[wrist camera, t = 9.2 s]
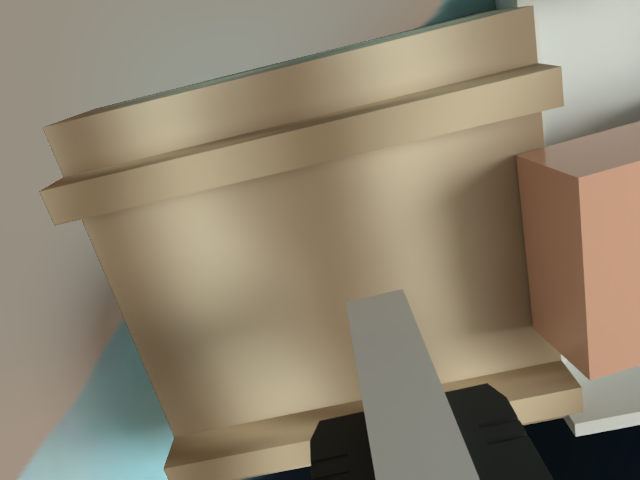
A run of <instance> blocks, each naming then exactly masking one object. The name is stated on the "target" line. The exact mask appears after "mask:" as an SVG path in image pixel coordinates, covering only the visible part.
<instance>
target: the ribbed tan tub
mask: <svg viewBox="0 0 640 480" xmlns="http://www.w3.org/2000/svg"><path fill="white" fill-rule="evenodd" d="M562 106H564V98H563V82H562V67H561V66H555V65H548V64H541V63H538V59H537V46H536V33H535V21H534V8H533V6H524V7H516V8H507V9H498V10H490V11H485V12H481V13H477V14H473V15H469V16H465V17H461V18H457V19H453V20H449V21H445V22H441V23H437V24H433V25H429V26H425V27H421V28H417V29H413V30H409V31H405V32H401V33H397V34H393V35H389V36H385V37H380V38H376V39H373V40H368V41H364V42H360V43H357V44H352V45H349V46H344V47H341V48H337V49H332V50H329V51H325V52H321V53H316V54H313V55H308V56H304V57H301V58H297V59H292V60H288V61H284V62H280V63H276V64H272V65H268V66H265V67H260V68H257V69H252V70H249V71H245V72H240V73H237V74H232V75H228V76H224V77H220V78H216V79H213V80H208V81H205V82H201V83H196V84H192V85H188V86H184V87H181V88H177V89H172V90H168V91H165V92H160V93H156V94H153V95H148V96H144V97H141V98H136V99H132V100H128V101H124V102H120V103H116V104H112V105H108V106H105V107H100V108H96V109H94V110H91V111H88V112H85V113H82V114H79V115H77V116H74V117H71V118H68V119H65V120H63V121H60V122H57V123H54V124H52V125H49V126H46V127H43V130H44V132H45V135H46V136H47V139H48V141H49V144H50V146H51V149H52V151H53V153H54V156H55V158H56V160H57V163H58V165H59V167H60V170H61V172H62V174H63V178H62V179H60V180H59V181H57V182H55V183H53V184H51V185H50V186H48V187H46V188H45V189H43V190H41V191H40V194H41V196H42V198H43V201H44V203H45V205H46V208H47V210H48V212H49V214H50V216H51V219H52V221H53V223H54V225H58V224H63V223H67V222H71V221H75V220H80V219H82V221H83V224H84V226H85V228H86V231H87V233H88V236H89V238H90V240H91V243H92V245H93V247H94V249H95V252H96V254H97V257H98V259H99V261H100V264H101V266H102V268H103V271H104V273H105V275H106V278H107V280H108V282H109V285H110V287H111V289H112V292H113V294H114V296H115V298H116V301H117V304H118V306H119V308H120V311H121V313H122V315H123V318H124V320H125V322H126V325H127V327H128V330H129V332H130V334H131V337H132V339H133V341H134V344H135V346H136V348H137V351H138V353H139V355H140V358H141V360H142V362H143V365H144V367H145V369H146V372H147V374H148V376H149V379H150V381H151V384H152V386H153V388H154V391H155V393H156V395H157V398H158V400H159V402H160V405H161V407H162V409H163V412H164V414H165V416H166V419H167V421H168V423H169V426H170V428H171V431H172V433H173V435H174V440H173V443H172V446H171V449H170V452H169V455H168V457H167V460H166V463H165V466H164V471H165V473H166V476H167V478H168V480H239V479H245V478H250V477H255V476H260V475H265V474H271V473H276V472H281V471H286V470H292V469H297V468H302V467H307V466H311V461H310V440H311V438H312V435H313V433H314V431H315V429H316V427H317V425H318V423H319V421H321V420H325V419H330V418H335V417H339V416H344V415H349V414H353V413H358V412H363V411H364V408H363V402H362V396H361V391H360V385H359V379H358V373H357V367H356V361H355V355H354V349H353V343H352V338H351V332H350V326H349V320H348V314H347V308H346V302H348V301H352V300H356V299H361V298H365V297H370V296H374V295H379V294H383V293H387V292H392V291H396V290H401V289H403V291H404V293H405V296H406V298H407V301H408V303H409V306H410V308H411V311H412V313H413V316H414V318H415V321H416V323H417V326H418V328H419V330H420V333H421V335H422V338H423V340H424V343H425V345H426V348H427V350H428V353H429V355H430V358H431V360H432V363H433V365H434V368H435V370H436V373H437V375H438V378H439V380H440V382H441V385H442V387H443V390H444V392H448V391H453V390H458V389H462V388H467V387H472V386H476V385H481V384H486V383H488V384H489V385H490V386H492V387H493V388H495V389H496V390H497V391H499V392H500V393H501V394H503V395H504V396H506V397H507V399H508V401H509V402H510V404H511V406H512V408H513V409H514V411H515V413H516V415H517V417H518V420H520V422H521V423H522V425H527V424H532V423H537V422H542V421H548V420H553V419H558V418H563V417H566V415H571V414H576V413H581V412H583V398H582V387H581V386H580V384H579V383H578V382H577V380H576V379H575V378H574V376H573V375H572V374H571V372H570V371H569V370H568V368H567V367H566V366H565V364H564V363H563V362H562V360H561V353H559V352H558V351H557V350H556V349H555V348H554V347H553V346H552V345H551V344H550V343H549V342H547V341H546V340H545V339H544V338H543V337H542V336H541V335H540V334H539V333H538V332H537V331H536V330H534V329H533V320H532V310H531V300H530V290H529V280H528V270H527V260H526V250H525V240H524V230H523V220H522V210H521V200H520V190H519V180H518V170H517V160H516V155H518V154H522V153H526V152H529V151H533V150H537V149H540V148H544V135H543V122H542V111H545V110H550V109H554V108H558V107H562Z"/></svg>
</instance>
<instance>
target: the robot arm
mask: <svg viewBox="0 0 640 480" xmlns="http://www.w3.org/2000/svg"><path fill="white" fill-rule="evenodd" d="M346 308H347V314H348V320H349V326H350V332H351V338H352V343H353V349H354V355H355V361H356V367H357V373H358V379H359V385H360V391H361V396H362V402H363V408H364V411H363V412H358V413H353V414H349V415H344V416H339V417H335V418H330V419H325V420H321V421H319V423H318V425H317V427H316V429H315V431H314V433H313V435H312V438H311V440H310V461H311V480H553V478H552V476H551V474H550V473H549V471H548V469H547V467H546V466H545V464H544V462H543V460H542V459H541V457H540V455H539V453H538V452H537V450H536V448H535V446H534V445H533V443H532V441H531V439H530V437H528V436H527V432H526V430H525V429H524V427H523V425H522V423H521V422H520V420H518V417H517V415H516V413H515V411H514V409H513V408H512V406H511V404H510V402H509V401H508V399H507V397H506V396H504V395H503V394H501V393H500V392H499V391H497V390H496V389H495V388H493V387H492V386H490V385H489V384H488V383H486V384H481V385H476V386H472V387H467V388H462V389H458V390H453V391H448V392H444V390H443V387H442V385H441V382H440V380H439V378H438V375H437V373H436V370H435V368H434V365H433V363H432V360H431V358H430V355H429V353H428V350H427V348H426V345H425V343H424V340H423V338H422V335H421V333H420V330H419V328H418V326H417V323H416V321H415V318H414V316H413V313H412V311H411V308H410V306H409V303H408V301H407V298H406V296H405V293H404V291H403V289H401V290H396V291H392V292H387V293H383V294H379V295H374V296H370V297H365V298H361V299H356V300H352V301H348V302H346Z"/></svg>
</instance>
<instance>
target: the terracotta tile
mask: <svg viewBox="0 0 640 480" xmlns="http://www.w3.org/2000/svg"><path fill="white" fill-rule="evenodd" d="M516 160H517V170H518V180H519V190H520V200H521V210H522V220H523V230H524V240H525V250H526V260H527V270H528V280H529V290H530V300H531V310H532V320H533V329H534V330H536V331H537V332H538V333H539V334H540V335H541V336H542V337H543V338H544V339H545V340H546V341H547V342H549V343H550V344H551V345H552V346H553V347H554V348H555V349H556V350H557V351H558V352H559V353H561V354H562V355H563V356H564V357H565V358H566V359H567V360H568V361H569V362H570V363H571V364H572V365H574V366H575V367H576V368H577V369H578V370H579V371H580V372H581V373H582V374H583V375H584V376H585V377H587V378H588V379H589V380H594V379H597V378H600V377H603V376H607V375H610V374H613V373H616V372H620V371H623V370H626V369H629V368H633V367H636V366H639V365H640V121H638V122H634V123H631V124H627V125H624V126H620V127H616V128H613V129H609V130H605V131H602V132H598V133H595V134H591V135H587V136H584V137H580V138H576V139H573V140H569V141H566V142H562V143H558V144H555V145H551V146H547V147H544V148H540V149H537V150H533V151H529V152H526V153H522V154H518V155H516Z"/></svg>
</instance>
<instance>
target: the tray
mask: <svg viewBox="0 0 640 480" xmlns="http://www.w3.org/2000/svg"><path fill="white" fill-rule="evenodd" d="M495 1H496V10H498V9H507V8H516V7H524V6H533V8H534V21H535V33H536V46H537V59H538V63H541V64H548V65H555V66H561V67H562V82H563V98H564V106H562V107H558V108H554V109H550V110H545V111H542V122H543V135H544V147H547V146H551V145H555V144H558V143H562V142H566V141H569V140H573V139H576V138H580V137H584V136H587V135H591V134H595V133H598V132H602V131H605V130H609V129H613V128H616V127H620V126H624V125H627V124H631V123H634V122H638V121H640V0H495ZM561 360H562V362H563V363H564V364H565V366H566V367H567V368H568V370H569V371H570V372H571V374H572V375H573V376H574V378H575V379H576V380H577V382H578V383H579V384H580V386H581V387H582V398H583V412H581V413H576V414H571V415H566V417H563V418H564V419H565V421H566V423H567V424H568V426H569V427H570V429H571V430H572V432H573V433H574V435H575V436H576V437H577V436H582V435H588V434H593V433H598V432H603V431H609V430H614V429H619V428H625V427H630V426H635V425H640V365H639V366H636V367H633V368H629V369H626V370H623V371H620V372H616V373H613V374H610V375H607V376H603V377H600V378H597V379H594V380H589V379H588V378H587V377H585V376H584V375H583V374H582V373H581V372H580V371H579V370H578V369H577V368H576V367H575V366H574V365H572V364H571V363H570V362H569V361H568V360H567V359H566V358H565V357H564V356H563V355H562V354H561Z"/></svg>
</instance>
